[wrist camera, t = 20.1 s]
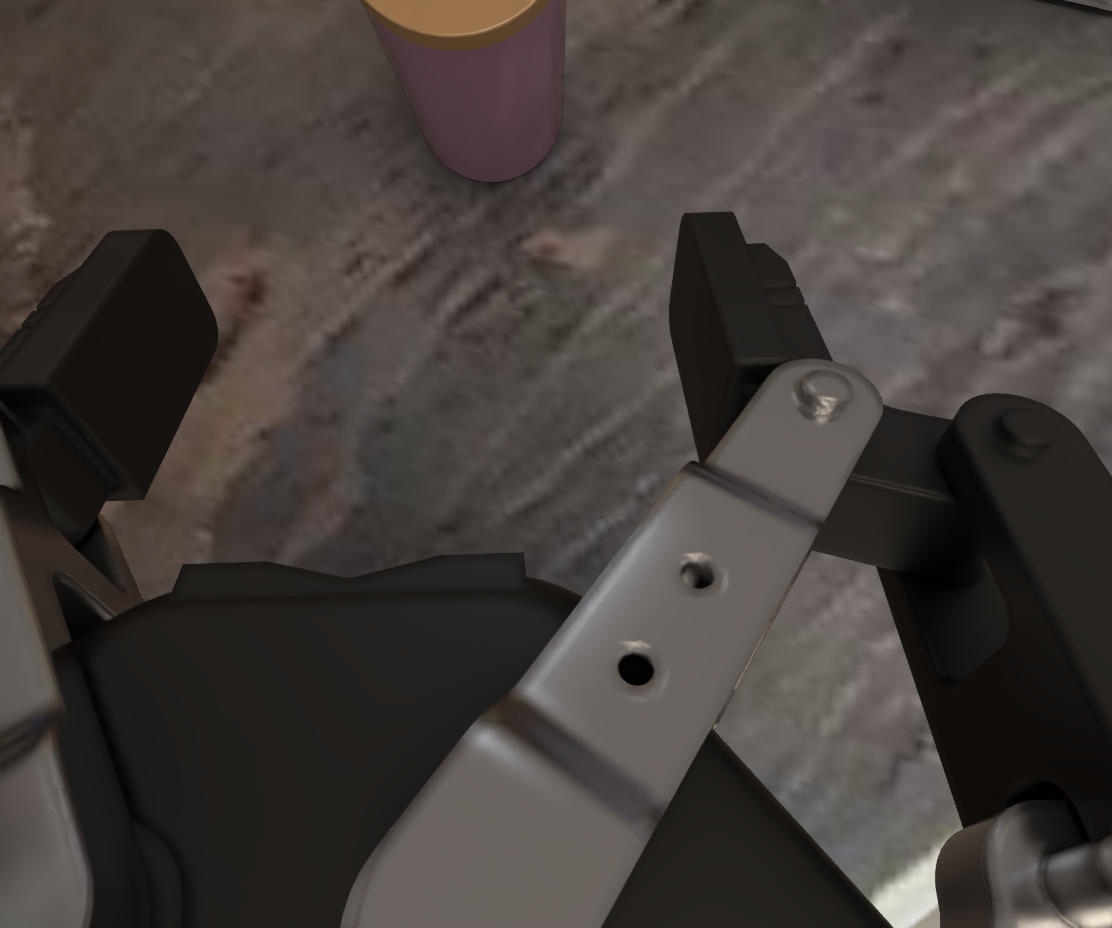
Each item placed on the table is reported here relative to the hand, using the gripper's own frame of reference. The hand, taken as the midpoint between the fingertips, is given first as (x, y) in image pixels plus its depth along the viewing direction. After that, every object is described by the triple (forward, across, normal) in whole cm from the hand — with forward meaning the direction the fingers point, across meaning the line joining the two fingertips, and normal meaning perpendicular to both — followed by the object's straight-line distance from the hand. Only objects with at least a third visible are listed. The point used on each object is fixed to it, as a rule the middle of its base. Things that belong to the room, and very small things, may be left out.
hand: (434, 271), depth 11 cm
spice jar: (+15, 0, +3) cm, 15 cm away
